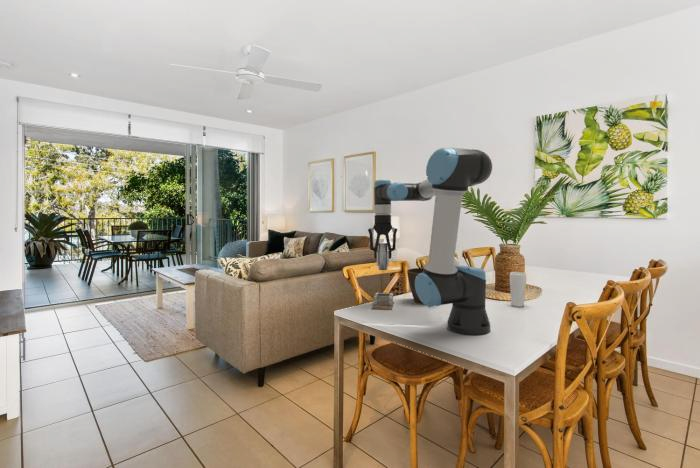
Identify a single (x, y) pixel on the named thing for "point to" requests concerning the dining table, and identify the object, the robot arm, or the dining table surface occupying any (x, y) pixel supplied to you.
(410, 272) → the plant pot
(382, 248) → the pin
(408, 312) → the dining table surface
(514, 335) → the dining table surface
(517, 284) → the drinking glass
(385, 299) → the socket board
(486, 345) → the dining table surface
